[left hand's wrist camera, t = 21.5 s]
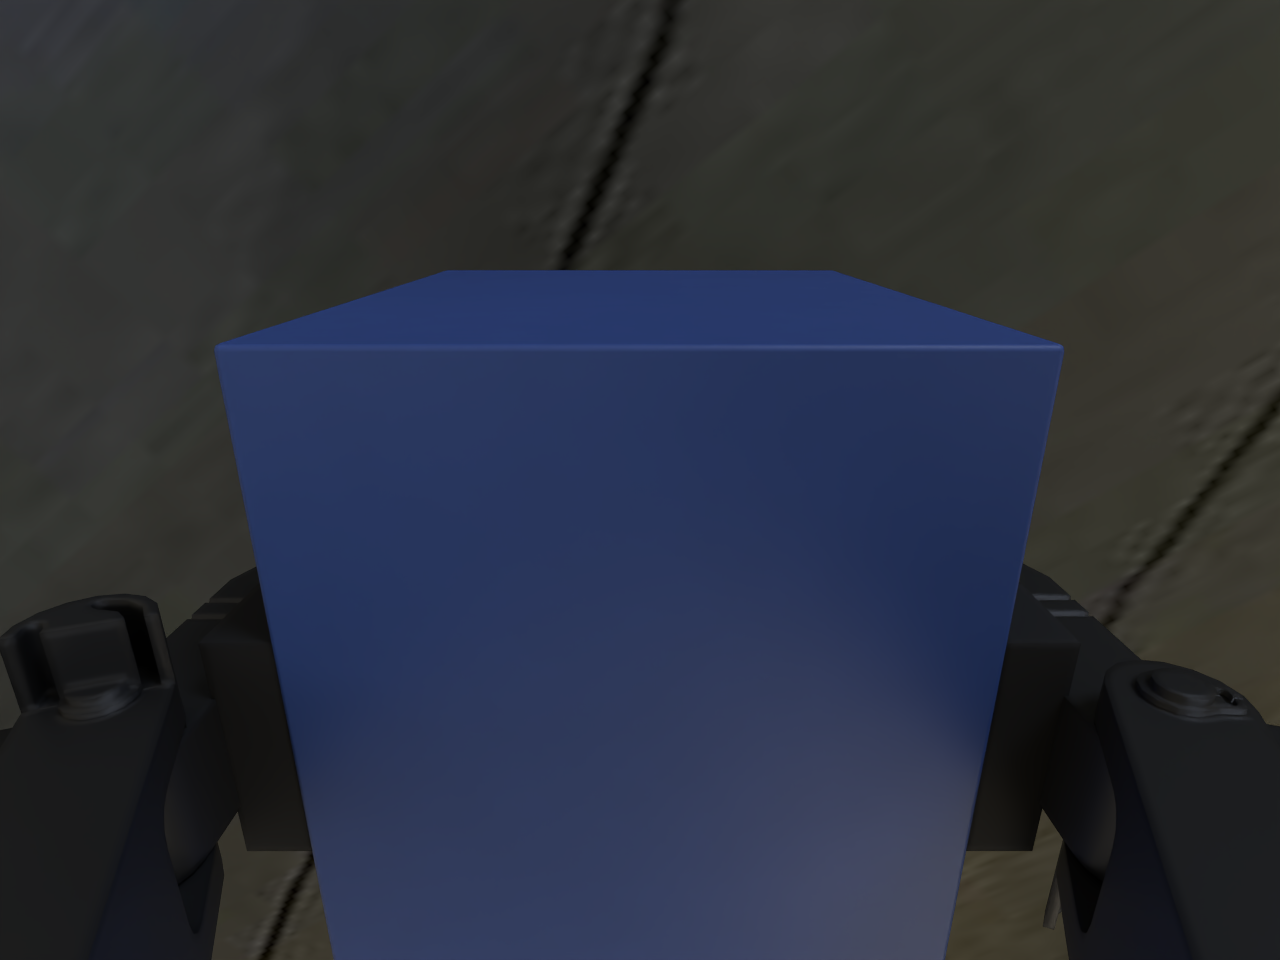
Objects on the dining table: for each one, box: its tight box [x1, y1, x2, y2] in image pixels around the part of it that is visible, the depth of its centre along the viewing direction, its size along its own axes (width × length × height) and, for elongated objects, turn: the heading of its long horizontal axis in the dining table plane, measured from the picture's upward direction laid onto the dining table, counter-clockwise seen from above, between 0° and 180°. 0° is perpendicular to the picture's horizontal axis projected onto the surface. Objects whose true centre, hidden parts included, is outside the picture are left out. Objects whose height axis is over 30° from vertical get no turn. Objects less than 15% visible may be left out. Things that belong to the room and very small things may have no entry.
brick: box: [214, 270, 1064, 960], centre depth 12 cm, size 7×9×8 cm
